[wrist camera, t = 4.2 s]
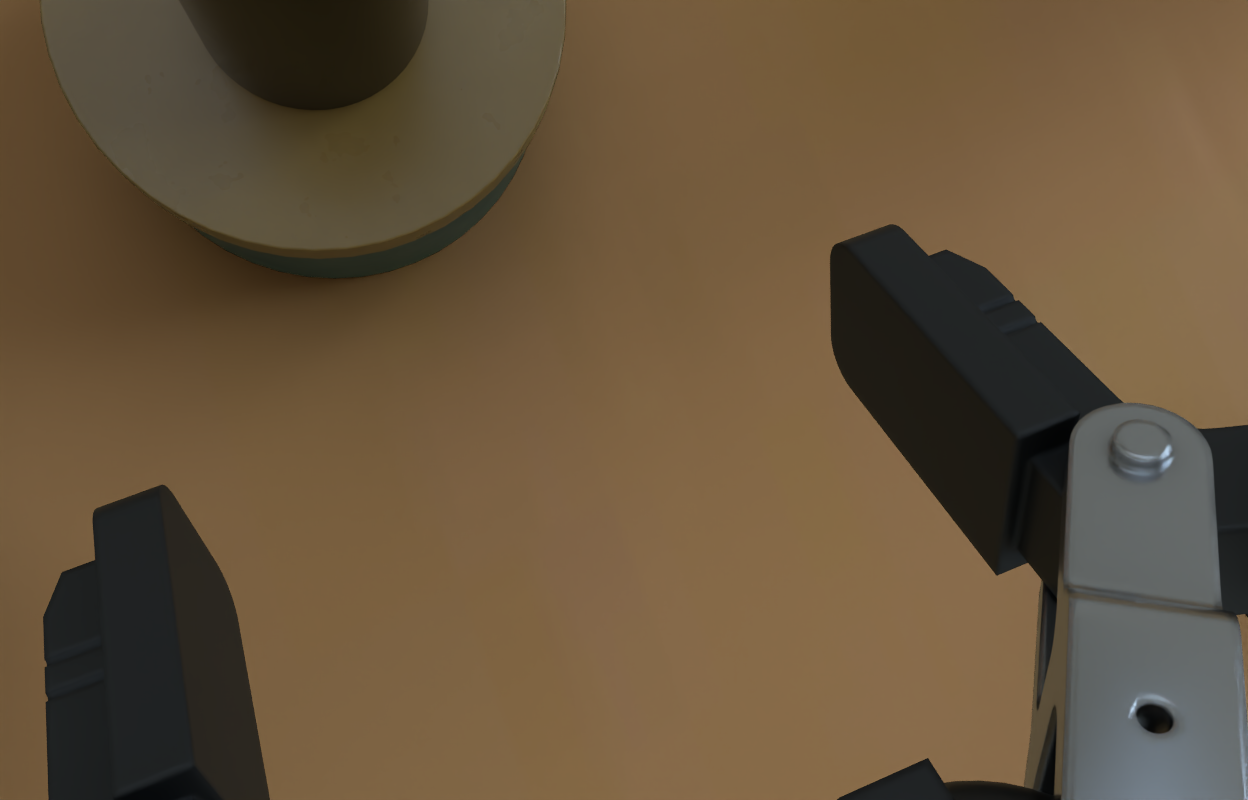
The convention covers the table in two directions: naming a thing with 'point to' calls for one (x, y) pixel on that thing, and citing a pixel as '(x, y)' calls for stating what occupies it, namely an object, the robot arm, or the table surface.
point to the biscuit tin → (313, 132)
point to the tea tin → (310, 46)
